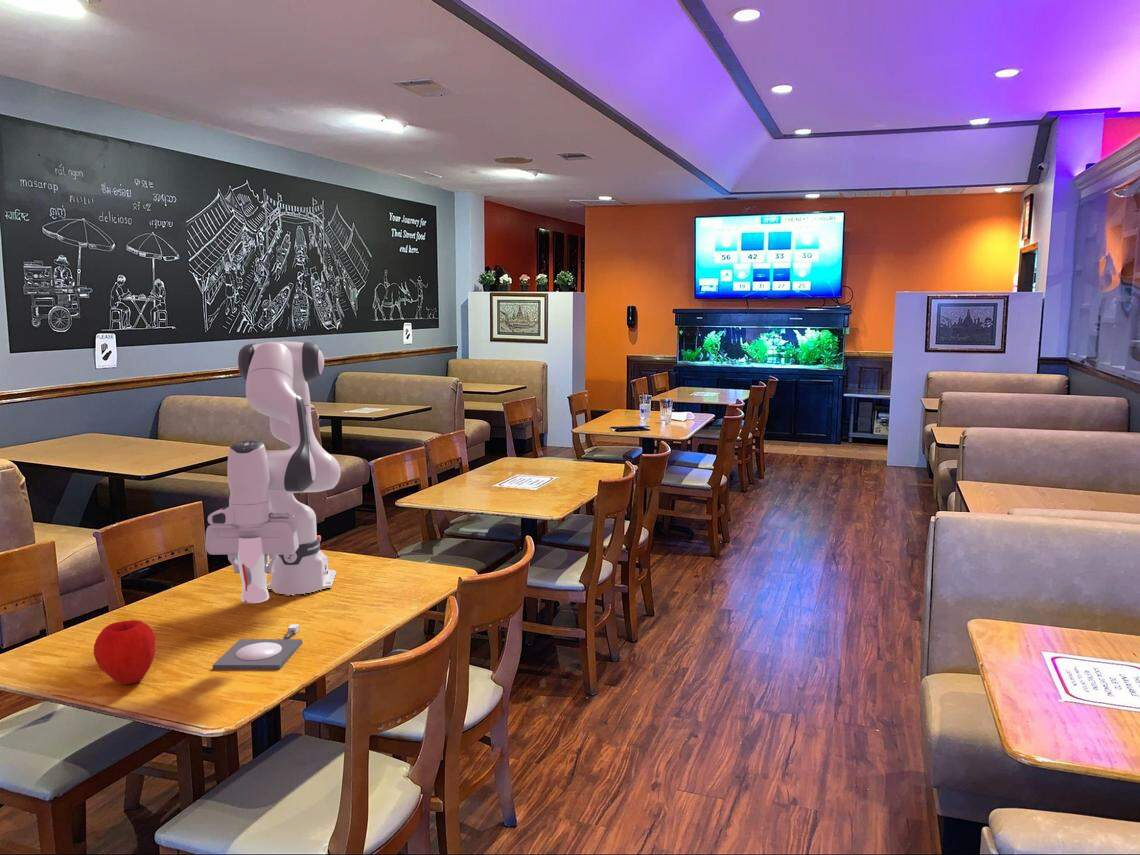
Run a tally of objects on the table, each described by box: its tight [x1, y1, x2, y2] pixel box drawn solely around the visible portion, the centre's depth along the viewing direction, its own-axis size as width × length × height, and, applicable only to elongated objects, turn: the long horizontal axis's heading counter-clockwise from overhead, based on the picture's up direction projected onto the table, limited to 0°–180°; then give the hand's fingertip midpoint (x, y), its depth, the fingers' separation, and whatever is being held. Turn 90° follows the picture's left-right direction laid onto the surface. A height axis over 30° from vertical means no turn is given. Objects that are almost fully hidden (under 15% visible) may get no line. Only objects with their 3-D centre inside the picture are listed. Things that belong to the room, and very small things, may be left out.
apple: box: [93, 619, 157, 685], centre depth 182 cm, size 12×12×13 cm
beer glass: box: [236, 537, 270, 605], centre depth 193 cm, size 7×7×15 cm
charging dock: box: [212, 623, 303, 670], centre depth 200 cm, size 23×15×2 cm, turn 179°
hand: (254, 572), depth 194 cm, fingers closed on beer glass, 6 cm apart
